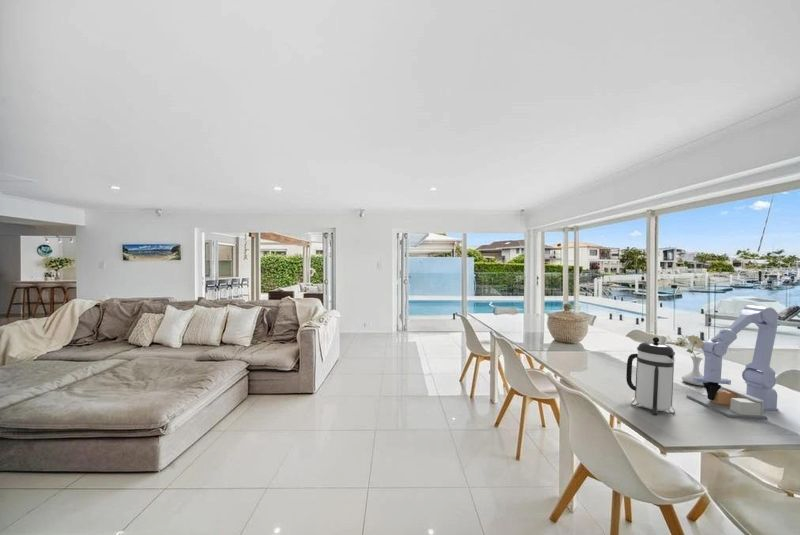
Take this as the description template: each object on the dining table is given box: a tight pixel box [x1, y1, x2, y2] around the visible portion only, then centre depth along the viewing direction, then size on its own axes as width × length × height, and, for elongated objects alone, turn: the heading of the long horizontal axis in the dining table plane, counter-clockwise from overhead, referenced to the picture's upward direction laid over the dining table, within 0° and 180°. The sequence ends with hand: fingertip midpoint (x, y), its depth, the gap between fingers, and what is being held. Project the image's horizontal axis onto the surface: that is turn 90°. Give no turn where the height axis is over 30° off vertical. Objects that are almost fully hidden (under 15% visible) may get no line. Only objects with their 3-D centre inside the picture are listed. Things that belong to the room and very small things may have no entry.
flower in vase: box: [681, 334, 705, 387], centre depth 188 cm, size 13×11×25 cm
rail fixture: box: [686, 384, 768, 420], centre depth 154 cm, size 15×22×7 cm
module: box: [709, 390, 738, 405], centre depth 157 cm, size 8×4×5 cm, turn 88°
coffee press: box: [625, 336, 676, 416], centre depth 149 cm, size 17×16×30 cm
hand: (710, 399), depth 157 cm, fingers closed
